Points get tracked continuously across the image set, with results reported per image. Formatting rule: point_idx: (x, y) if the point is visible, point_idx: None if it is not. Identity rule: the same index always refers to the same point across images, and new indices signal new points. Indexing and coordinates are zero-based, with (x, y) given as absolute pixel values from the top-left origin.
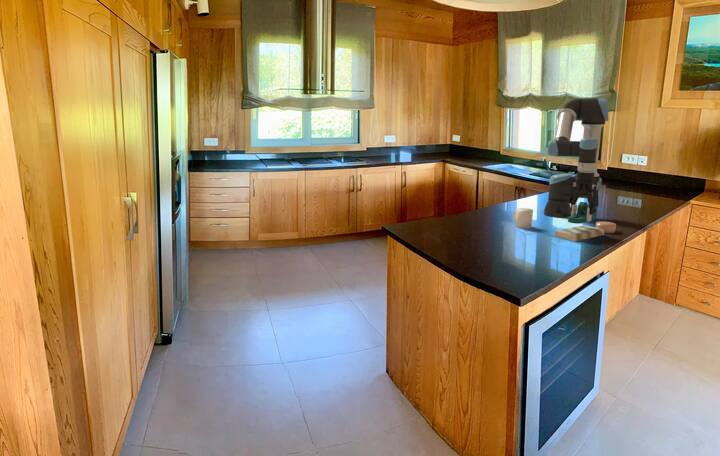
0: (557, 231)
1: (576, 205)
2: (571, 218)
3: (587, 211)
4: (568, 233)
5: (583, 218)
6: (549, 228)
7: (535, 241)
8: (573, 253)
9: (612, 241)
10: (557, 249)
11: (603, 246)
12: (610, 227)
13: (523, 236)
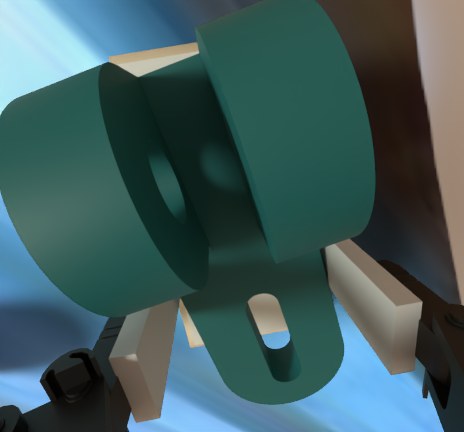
0: (201, 342)
1: (143, 357)
2: (286, 399)
3: (364, 331)
4: (270, 331)
5: (341, 334)
6: (15, 243)
7: (233, 427)
8: (413, 405)
9: (414, 134)
10: (352, 420)
11: (434, 255)
12: None
13: (148, 428)
